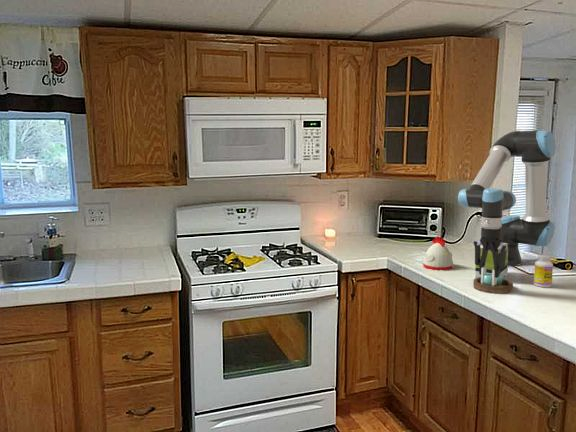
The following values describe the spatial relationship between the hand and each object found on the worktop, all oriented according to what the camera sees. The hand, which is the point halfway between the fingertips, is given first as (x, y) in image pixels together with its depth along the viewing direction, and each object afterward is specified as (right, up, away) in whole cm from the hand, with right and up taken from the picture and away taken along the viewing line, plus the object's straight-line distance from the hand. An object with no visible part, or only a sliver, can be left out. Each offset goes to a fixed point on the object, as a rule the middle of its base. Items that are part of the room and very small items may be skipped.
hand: (488, 283), depth 199 cm
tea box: (+9, 0, +19) cm, 21 cm away
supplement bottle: (+25, -2, +5) cm, 25 cm away
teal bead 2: (+6, -1, +5) cm, 8 cm away
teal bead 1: (0, 0, 0) cm, 0 cm away
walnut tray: (+3, -2, +3) cm, 5 cm away
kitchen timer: (-9, +3, +38) cm, 39 cm away
